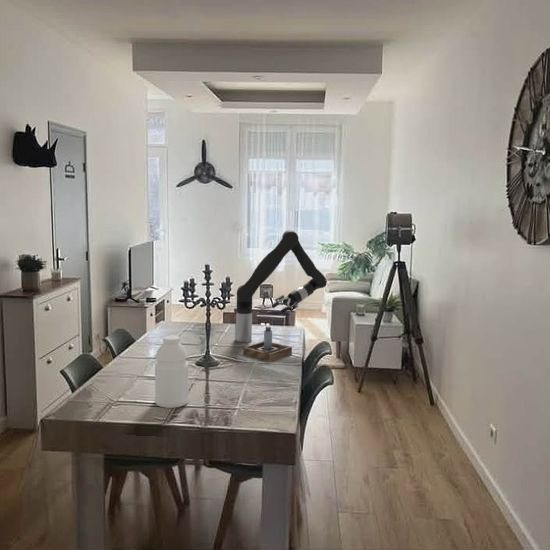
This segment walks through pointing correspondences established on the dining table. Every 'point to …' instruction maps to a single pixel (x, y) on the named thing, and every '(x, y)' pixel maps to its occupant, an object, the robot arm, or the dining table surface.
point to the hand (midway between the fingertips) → (276, 309)
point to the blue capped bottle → (268, 339)
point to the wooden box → (271, 355)
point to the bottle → (171, 374)
